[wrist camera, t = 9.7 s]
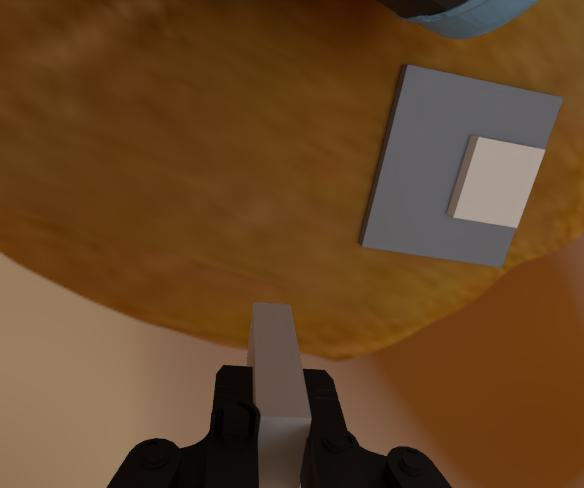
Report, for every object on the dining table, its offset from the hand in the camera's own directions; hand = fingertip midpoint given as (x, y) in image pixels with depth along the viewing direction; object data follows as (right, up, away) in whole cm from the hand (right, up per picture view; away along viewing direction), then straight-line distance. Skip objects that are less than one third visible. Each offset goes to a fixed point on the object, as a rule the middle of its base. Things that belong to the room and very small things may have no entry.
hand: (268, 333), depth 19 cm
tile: (+18, +10, +26) cm, 33 cm away
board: (+18, +11, +29) cm, 35 cm away
